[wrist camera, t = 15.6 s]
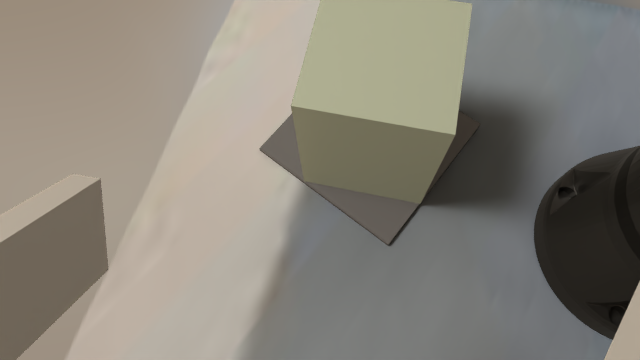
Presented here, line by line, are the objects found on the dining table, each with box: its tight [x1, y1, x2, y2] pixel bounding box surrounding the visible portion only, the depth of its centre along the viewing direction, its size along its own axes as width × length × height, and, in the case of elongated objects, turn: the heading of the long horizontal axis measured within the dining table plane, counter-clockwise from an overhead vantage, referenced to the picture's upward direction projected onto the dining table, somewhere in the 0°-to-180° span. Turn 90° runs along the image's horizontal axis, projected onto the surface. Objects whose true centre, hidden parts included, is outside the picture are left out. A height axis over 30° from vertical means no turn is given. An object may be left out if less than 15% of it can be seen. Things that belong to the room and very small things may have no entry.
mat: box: [260, 111, 480, 245], centre depth 42 cm, size 14×14×1 cm
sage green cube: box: [291, 0, 472, 204], centre depth 36 cm, size 10×10×12 cm
